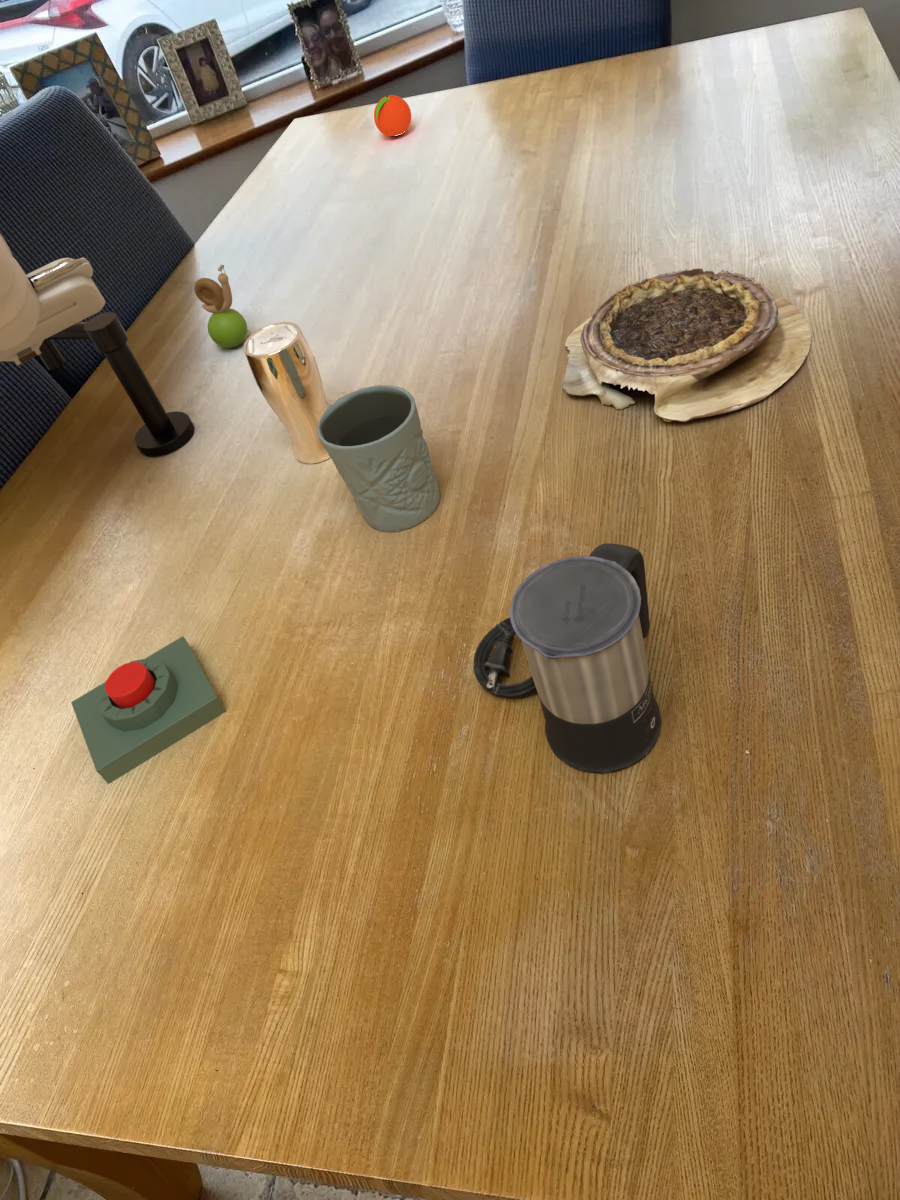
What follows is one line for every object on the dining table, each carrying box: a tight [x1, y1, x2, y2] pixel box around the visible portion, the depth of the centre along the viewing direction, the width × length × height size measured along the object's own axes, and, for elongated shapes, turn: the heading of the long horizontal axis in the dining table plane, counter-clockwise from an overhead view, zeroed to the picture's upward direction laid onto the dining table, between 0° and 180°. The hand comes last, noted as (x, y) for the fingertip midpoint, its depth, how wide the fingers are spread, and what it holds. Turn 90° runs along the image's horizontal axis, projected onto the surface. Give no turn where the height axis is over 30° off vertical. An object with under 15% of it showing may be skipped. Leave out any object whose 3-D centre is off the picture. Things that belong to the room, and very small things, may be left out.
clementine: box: [373, 94, 412, 137], centre depth 173 cm, size 8×7×7 cm
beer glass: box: [242, 321, 331, 465], centre depth 107 cm, size 7×7×15 cm
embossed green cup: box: [317, 384, 441, 533], centre depth 96 cm, size 10×10×12 cm
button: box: [105, 661, 155, 708], centre depth 85 cm, size 4×4×2 cm
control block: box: [70, 635, 227, 785], centre depth 87 cm, size 12×10×4 cm
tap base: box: [103, 341, 196, 458], centre depth 117 cm, size 8×8×14 cm
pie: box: [561, 268, 812, 423], centre depth 105 cm, size 28×27×5 cm
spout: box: [38, 311, 129, 371], centre depth 115 cm, size 15×4×6 cm, turn 66°
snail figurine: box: [193, 263, 248, 349], centre depth 131 cm, size 5×6×12 cm
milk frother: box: [473, 542, 662, 774], centre depth 72 cm, size 14×16×15 cm
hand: (26, 353), depth 104 cm, fingers closed
